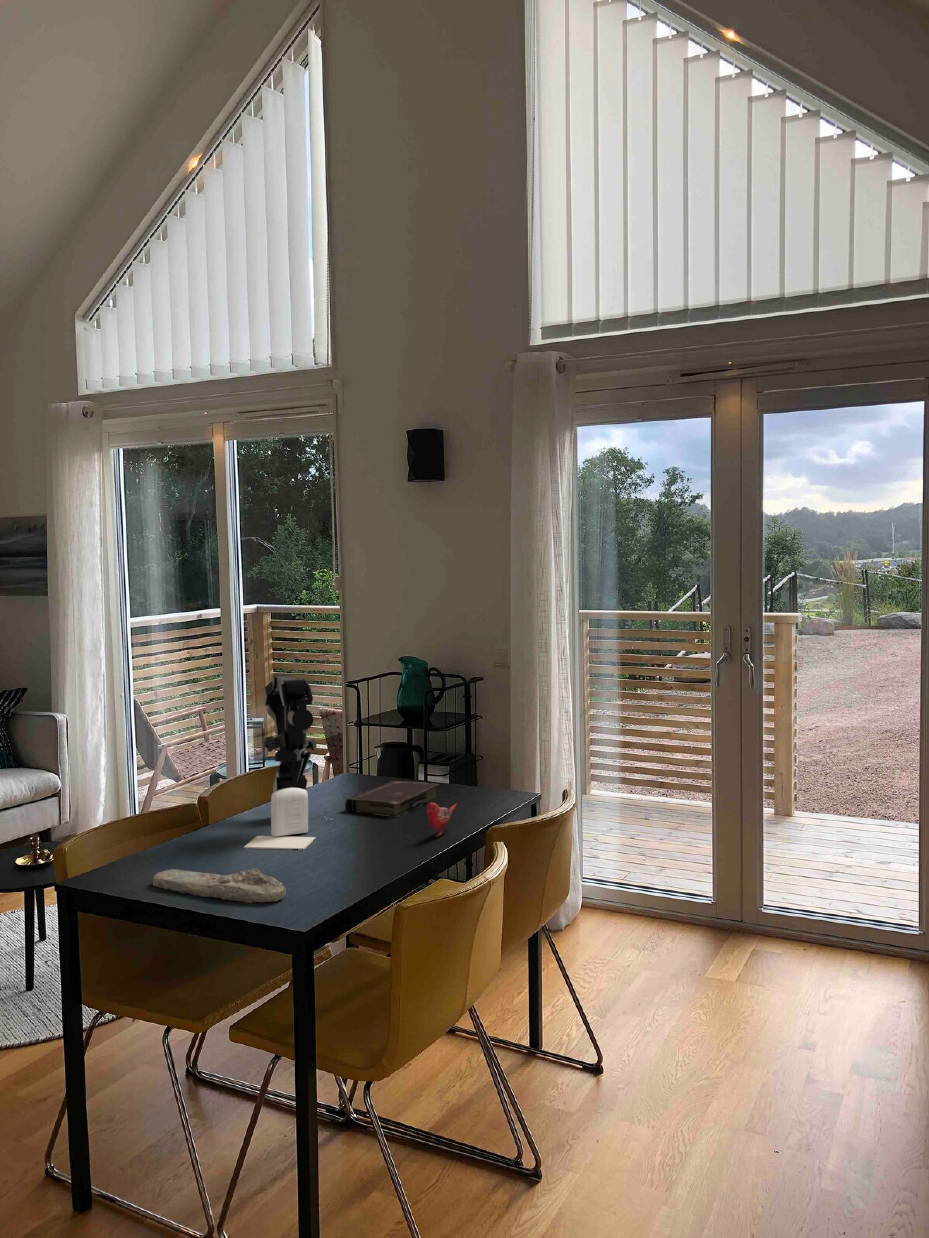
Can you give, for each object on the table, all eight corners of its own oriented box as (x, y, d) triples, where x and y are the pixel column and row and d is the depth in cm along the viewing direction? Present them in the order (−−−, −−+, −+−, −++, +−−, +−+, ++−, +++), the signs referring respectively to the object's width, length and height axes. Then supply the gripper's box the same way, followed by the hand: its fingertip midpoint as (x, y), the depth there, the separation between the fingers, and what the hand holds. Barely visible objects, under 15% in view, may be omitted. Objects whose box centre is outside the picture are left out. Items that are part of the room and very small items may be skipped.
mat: (257, 837, 269) (257, 835, 269) (315, 838, 266) (315, 837, 266) (243, 848, 259) (243, 846, 259) (303, 849, 256) (303, 848, 256)
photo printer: (304, 830, 275) (303, 784, 275) (310, 832, 272) (310, 787, 271) (268, 835, 269) (268, 789, 269) (275, 838, 266) (274, 791, 266)
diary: (344, 814, 294) (343, 797, 294) (390, 795, 316) (390, 779, 316) (398, 819, 285) (397, 802, 285) (442, 800, 307) (441, 783, 307)
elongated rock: (172, 882, 238) (143, 898, 229) (169, 860, 237) (140, 875, 228) (297, 892, 223) (271, 909, 214) (294, 869, 223) (268, 885, 214)
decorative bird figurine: (423, 841, 261) (422, 803, 261) (452, 824, 277) (452, 789, 277) (433, 843, 260) (432, 804, 259) (462, 825, 276) (461, 789, 275)
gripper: (278, 719, 287) (280, 773, 287) (255, 730, 268) (257, 788, 269) (316, 719, 285) (318, 773, 286) (295, 730, 266) (297, 788, 267)
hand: (297, 780), depth 277 cm, fingers open, 3 cm apart
